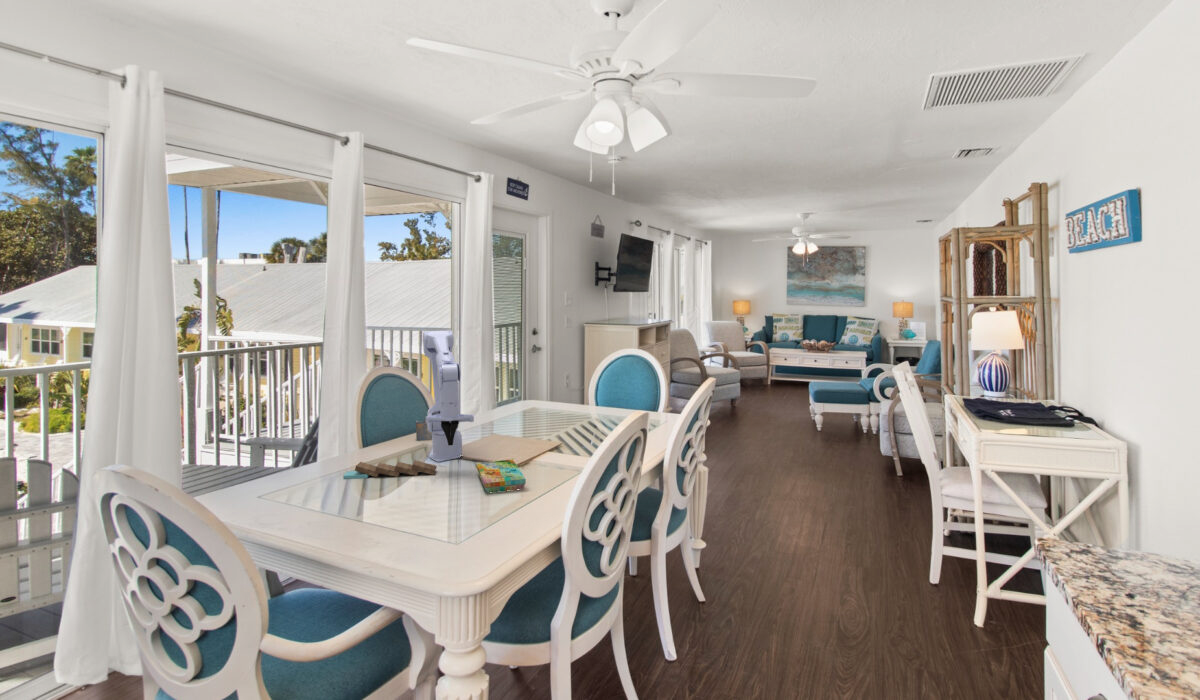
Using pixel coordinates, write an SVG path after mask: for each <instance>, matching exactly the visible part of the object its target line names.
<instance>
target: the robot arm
mask: <svg viewBox="0 0 1200 700" xmlns="http://www.w3.org/2000/svg"><path fill="white" fill-rule="evenodd" d="M422 344H423V345H422V346H423V347H422V349H423V353H424V357H426V358H429V360H430V361H429V362H430V364H431V373H432V374H431V375H432V384H433V385H432V386H433V395H434V396H433V399H434V404H433V405H432V406H430V408H428V410H427V413H426V414H427V416H425V420H426V423H427V426H428V431H429V432H432V440H431V441H432V444H431V445H432V446H431V447H432V454H430V455H428V456H427V457H428V458H429V459H431V460H433V461H435V462H437V463H438V462H443V461H449V460H454V459H460V457H461V456H460V455H463V439H462V435H461V432H460V431H459V430H458V428H459V425H460V423H465V422H470V423H474V421H475V417H474V416H475V414H465V413H464V414H460V393H459V391H460V388H459V387H460V386H459V383H460V381H461V375H462V373H461V367H460V364H459V363H458V362H456V359H455V356H454V354H453V347H454V332H453V330H451V329H449V330H424V331H423V332H422ZM461 458H462V457H461Z"/></svg>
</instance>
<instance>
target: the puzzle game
mask: <svg viewBox="0 0 1200 700" xmlns="http://www.w3.org/2000/svg"><path fill="white" fill-rule="evenodd" d="M475 468H476V471H477V472H478V476H479V477H480V480H481V482H482V485H483V487H484V490H485V491H486V492H487V494H491V493H490V492H496V493H499V492H498V491H505V492H508V491H507V490H514V491H518V490H517V489H521V490H522V489H523V487H525V485H526V482H527V481H526V477H525V475H524V474H523V472H522V471H521V470H520V468H519V467H518V465H517V464H516V462H515V461H514V459H513V458H512V459H505V460H504V459H503V460H494V461H491V460H490V461H482V462H476V463H475Z"/></svg>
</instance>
